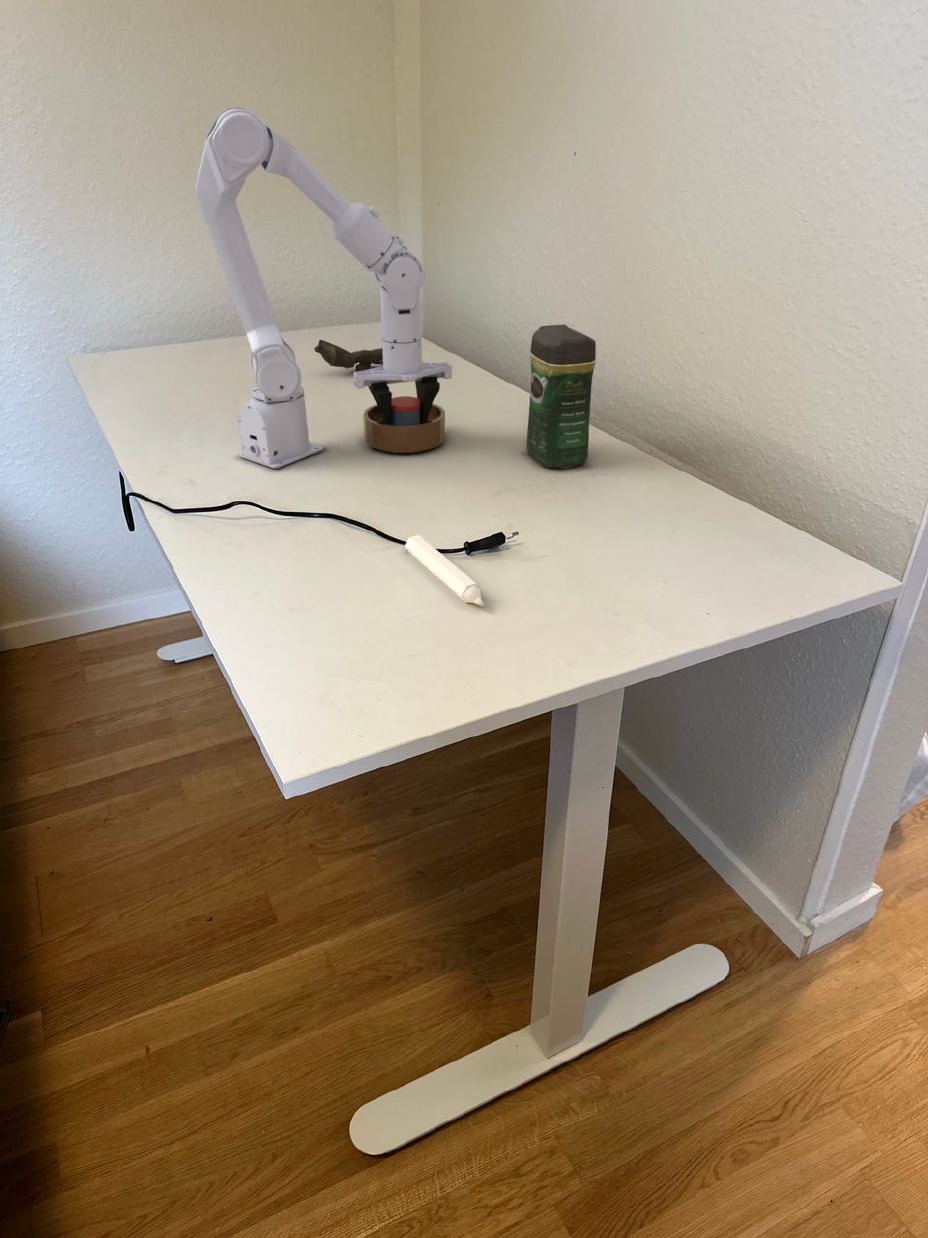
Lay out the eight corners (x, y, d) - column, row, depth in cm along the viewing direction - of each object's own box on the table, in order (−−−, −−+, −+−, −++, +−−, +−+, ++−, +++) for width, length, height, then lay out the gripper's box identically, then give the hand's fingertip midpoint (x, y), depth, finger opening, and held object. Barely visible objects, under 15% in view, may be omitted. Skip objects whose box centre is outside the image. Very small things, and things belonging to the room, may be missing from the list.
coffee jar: (595, 466, 123) (607, 334, 113) (544, 473, 120) (552, 339, 110) (566, 443, 130) (575, 317, 120) (518, 449, 128) (523, 322, 118)
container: (407, 445, 128) (405, 408, 125) (383, 438, 130) (381, 402, 127) (428, 436, 131) (427, 400, 128) (404, 429, 134) (402, 393, 131)
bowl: (409, 462, 124) (408, 432, 121) (348, 443, 130) (346, 415, 128) (461, 438, 132) (461, 410, 130) (401, 422, 138) (400, 394, 136)
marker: (483, 620, 89) (411, 556, 101) (498, 607, 90) (425, 544, 101) (472, 605, 88) (401, 541, 99) (488, 591, 88) (415, 530, 99)
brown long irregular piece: (401, 373, 170) (308, 368, 159) (403, 344, 168) (308, 338, 157) (417, 376, 165) (322, 371, 154) (419, 346, 163) (323, 339, 152)
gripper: (359, 349, 117) (365, 444, 125) (458, 340, 122) (458, 431, 129) (347, 337, 123) (354, 428, 130) (442, 328, 127) (443, 417, 135)
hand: (405, 429), depth 130 cm, fingers closed on container, 5 cm apart
